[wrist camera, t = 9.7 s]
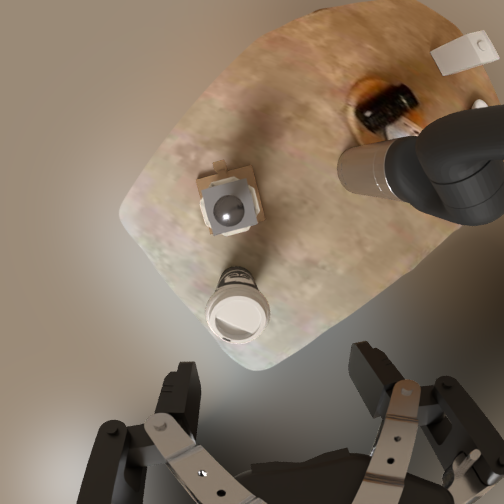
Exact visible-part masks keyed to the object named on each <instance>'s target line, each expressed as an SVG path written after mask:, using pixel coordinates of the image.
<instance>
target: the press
mask: <svg viewBox="0 0 504 504" xmlns="http://www.w3.org/2000/svg"><path fill="white" fill-rule="evenodd" d="M213 166H214V170H215V172H217V174H215V175H211V176H207V177H204V178H200V179H197V180H196V183H197V187H198V191H199V194H200V198H201V201H200V207H201V210H202V214H203V218H204V221H205V225H206V226H208V227H209V230H210V234H213V235H214V236H215V235H218V234H222V235H224V236H229V235H233V234H237V233H241V232H244V231H248V230H249V228H250V226H253V225H257V224H258V223H257V222H260V221H264V220H265V216H264V212H263V208H262V204H261V200H260V196H259V192H258V188H257V184H256V180H255V176H254V172H253V168H252V165H249V166H245V167H241V168H237V169H233V170H230V171H227V166H226V163H225V160H221V161H217V162H213ZM224 195H234V196H237V197H238V198H239V199H240V200H241V201H242V203H243V205H244V209H245V214H244V217H243V219H242V221H241V222H240V223H239V224H237V225H235V226H232V227H226V226H223V225H221V224H219V223H218V222H217V221H216V219H215V217H214V214H213V209H214V205H215V203H216V202H217V201H218V199H219V198H221V197H222V196H224Z"/></svg>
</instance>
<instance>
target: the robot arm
mask: <svg viewBox="0 0 504 504" xmlns="http://www.w3.org/2000/svg"><path fill="white" fill-rule="evenodd" d="M503 160H504V105H497V106H489V107H482V108H475V109H470V110H464V111H460V112H456V113H452V114H449V115H447V116H444V117H442V118H439V119H437V120H436V121H434V122H432V123H431V124H429V125H428V126H426V127H425V128H424V129H423V130H422V131H421V133H420V134H419V136H407V137H402V138H396V139H392V140H387V141H381V142H377V143H372V144H367V145H362V146H357V147H353V148H350V149H348V150H346V151H345V152H344V153H343V154H342V155H341V157H340V159H339V162H338V168H337V171H338V176H339V179H340V181H341V183H342V185H343V186H344V187H345V188H346V189H347V190H348V191H350V192H352V193H355V194H361V195H367V196H373V197H379V198H385V199H391V200H397V201H403V202H407V203H410V204H411V205H412V206H413V207H414V208H416V209H417V210H419V211H421V212H424V213H426V214H430V215H432V216H435V217H438V218H441V219H444V220H447V221H450V222H453V223H457V224H461V225H469V226H478V225H484V224H488V223H490V222H493V221H495V220H496V219H498V218H499V217H501V216H502V215H503V214H504V162H503ZM348 367H349V368H348V370H349V375H350V377H351V379H352V381H353V383H354V385H355V386H356V388H357V390H358V392H359V393H360V395H361V397H362V399H363V401H364V403H365V404H366V406H367V408H368V410H369V412H370V414H371V416H372V417H373V418H376V417H379V416H381V418H382V422H381V425H380V427H379V430H378V433H377V436H376V439H375V442H374V444H373V447H372V450H371V452H370V454H369V455H365V454H359V453H349V451H348V448H344V449H340V450H336V451H332V452H327V453H324V454H322V455H319V456H317V457H315V458H312V459H310V460H308V461H305V462H302V463H293V462H268V463H257V464H251V470H249V471H246V472H244V473H241V474H239V475H237V476H235V477H234V478H233V477H232V476H231V475H230V474H229V473H228V472H227V471H226V470H225V469H224V468H223V467H222V466H221V465H220V464H219V463H217V461H216V460H215V459H213V457H212V456H211V455H210V454H209V453H208V452H207V451H206V450H205V449H204V448H203V447H202V446H201V445H199V444H198V445H196V444H195V443H196V437H197V428H198V419H199V409H200V400H201V384H200V380H199V376H198V372H197V368H196V364H195V362H180V363H179V366H178V370H177V372H170V373H169V374H168V375H167V376H166V377H165V379H164V382H163V387H162V389H161V393H160V396H159V399H158V403H157V406H156V410H155V413H154V414H153V415H151V416H150V417H148V418H147V419H146V421H145V423H144V424H141V425H136V426H128V427H126V425H125V424H124V423H123V422H121V421H118V420H110V421H107V422H105V423H103V424H102V425H101V427H100V428H99V431H98V434H97V437H96V439H95V442H94V445H93V448H92V451H91V455H90V458H89V461H88V464H87V467H86V471H85V474H84V478H83V481H82V485H81V488H80V492H79V496H78V500H77V504H143V496H144V488H145V480H146V473H147V466H151V465H157V464H162V463H165V464H166V465H167V466H168V468H169V469H170V470H171V471H172V473H173V474H174V475H175V477H176V478H177V479H178V481H179V482H180V483H181V484H182V485H183V487H184V488H185V489H186V490H187V492H188V493H189V494H190V495H191V497H192V498H193V499H194V500H195V501H196V502H197V504H472V503H474V502H475V501H477V500H478V499H479V498H481V497H482V496H483V495H484V494H485V493H486V492H488V491H489V490H490V489H491V488H492V487H493V486H495V485H496V484H497V483H498V482H499V481H500V480H501V479H502V478H503V477H504V440H503V439H502V437H501V436H500V435H499V433H498V432H497V431H496V429H495V428H494V426H493V425H492V424H491V422H490V421H489V420H488V418H487V417H486V416H485V415H484V413H483V412H482V411H481V410H480V408H479V407H478V406H477V404H476V403H475V402H474V401H473V399H472V398H471V397H470V396H469V395H468V393H467V392H466V391H465V390H464V388H463V387H462V386H461V385H460V384H459V382H458V381H457V380H456V379H455V378H452V377H450V376H442V377H439V378H438V379H437V380H436V382H435V384H434V385H431V386H422V387H421V386H419V384H418V383H416V382H415V381H412V380H405V379H404V378H403V376H402V375H401V374H400V372H399V371H398V370H397V368H396V367H395V366H394V365H393V364H392V362H391V361H390V360H389V359H388V357H387V356H386V355H385V353H384V352H382V351H381V350H379V349H377V348H374V349H373V348H372V347H371V346H370V344H369V343H368V342H367V341H363V342H358V343H353V344H352V347H351V353H350V359H349V366H348ZM446 415H447V417H448V418H449V420H450V421H451V423H450V421H449V420H448V418H447V417H446ZM418 426H420V427H421V428H422V430H423V432H424V434H425V436H426V437H427V439H428V441H429V443H430V444H431V446H432V448H433V450H434V452H435V454H436V455H437V457H438V459H439V461H440V463H441V465H442V466H443V468H444V471H445V472H444V473H443V476H442V481H443V484H442V486H441V485H439V484H436V483H433V482H430V481H428V480H425V479H422V478H420V477H417V476H415V475H412V474H410V473H408V472H407V469H408V465H409V461H410V458H411V454H412V450H413V445H414V442H415V437H416V432H417V427H418Z"/></svg>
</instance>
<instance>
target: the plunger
mask: <svg viewBox="0 0 504 504" xmlns="http://www.w3.org/2000/svg"><path fill="white" fill-rule="evenodd" d="M213 214H214V217H215V219H216V221H217V222H218V223H219V224H221V225H223V226H226V227H232V226H235V225H237V224H239V223H240V222H241V221H242V219H243V217H244V214H245V209H244V205H243V203H242V201H241V200H240V199H239V198H238V197H237V196H234V195H224V196H222V197H221V198H219V199H218V201H217V202H216V203H215V205H214V209H213Z"/></svg>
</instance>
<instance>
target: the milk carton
mask: <svg viewBox="0 0 504 504" xmlns="http://www.w3.org/2000/svg"><path fill="white" fill-rule="evenodd" d="M430 53H431V55H432V57H433V58H434V60H435V62H436V64H437V66H438V68H439V69H440V71H441V73H442V75H443V76H446V75H450V74H454V73H458V72H461V71H464V70H467V69H470V68H473V67H477V66H480V65H483V64H487V63H490V62H493V61H495V60H498V59H500V58H499V56H498V54H497V52H496V50H495V48H494V46H493V45H492V43H491V41H490V39H489V37H488V36H487V34H486V32H485V31H484V30H482V31H478V32H473V33H469V34H466V35H463V36H461V37H459V38H457V39H455V40H453V41H450V42H448V43H446V44H444V45H442V46H440V47H438V48H436V49H434V50H432V51H430Z"/></svg>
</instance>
